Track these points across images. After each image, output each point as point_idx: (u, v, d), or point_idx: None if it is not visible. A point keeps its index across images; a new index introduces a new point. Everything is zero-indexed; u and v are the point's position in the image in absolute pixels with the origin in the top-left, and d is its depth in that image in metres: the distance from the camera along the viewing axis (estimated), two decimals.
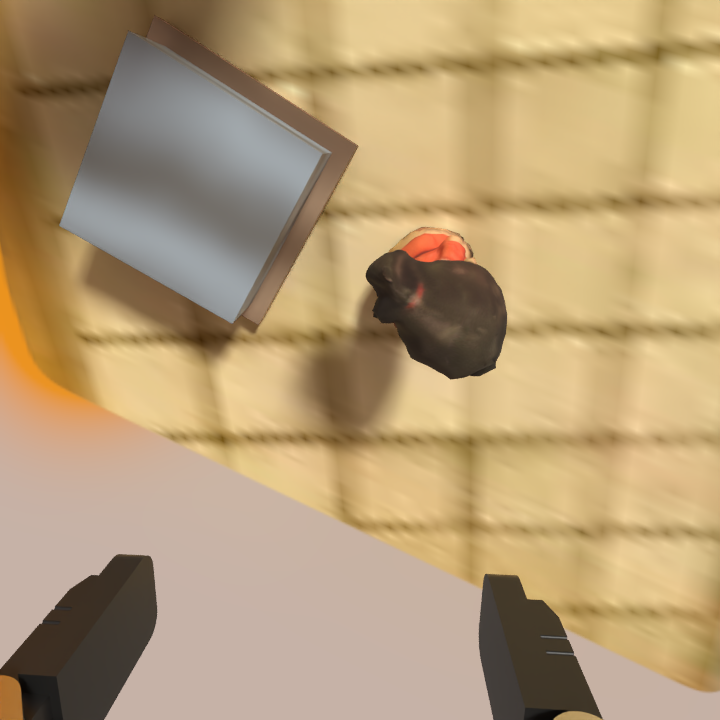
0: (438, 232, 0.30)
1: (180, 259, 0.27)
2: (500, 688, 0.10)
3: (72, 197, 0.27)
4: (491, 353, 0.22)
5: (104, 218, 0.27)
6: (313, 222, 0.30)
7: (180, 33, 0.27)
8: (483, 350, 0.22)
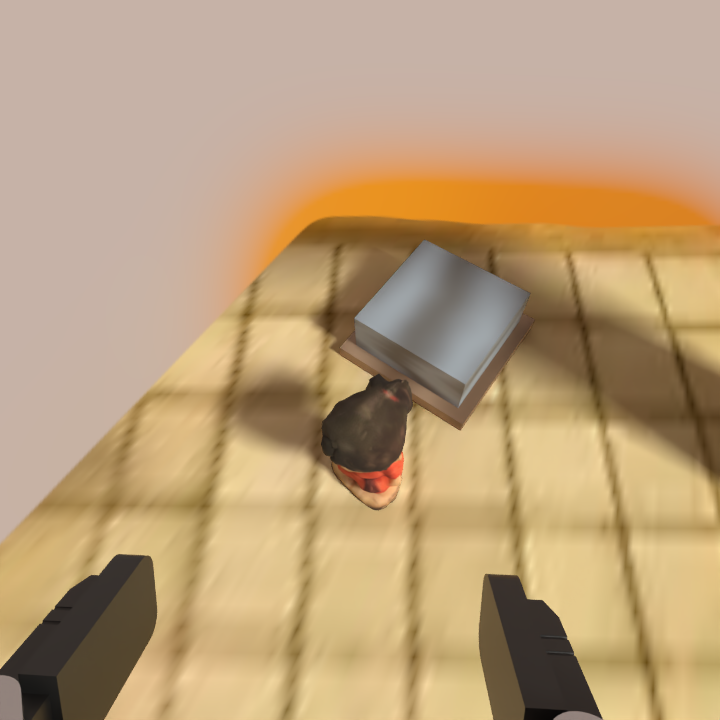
0: None
1: (400, 295, 0.42)
2: (500, 688, 0.10)
3: (440, 249, 0.44)
4: (344, 444, 0.29)
5: (427, 261, 0.44)
6: (411, 391, 0.42)
7: (526, 331, 0.45)
8: (347, 438, 0.29)
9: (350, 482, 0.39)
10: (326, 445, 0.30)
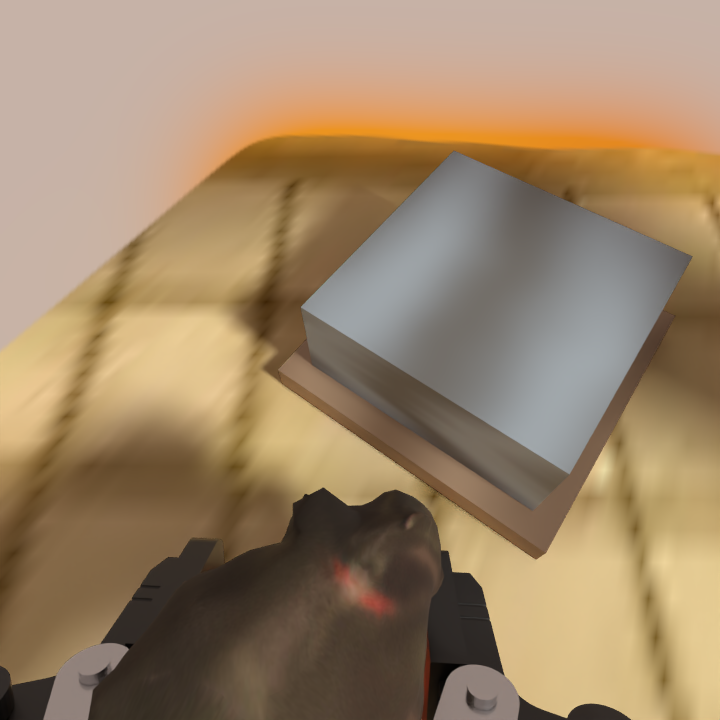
0: None
1: (404, 259, 0.19)
2: None
3: (488, 168, 0.21)
4: None
5: (462, 192, 0.21)
6: (427, 469, 0.19)
7: (660, 339, 0.22)
8: None
9: None
10: None
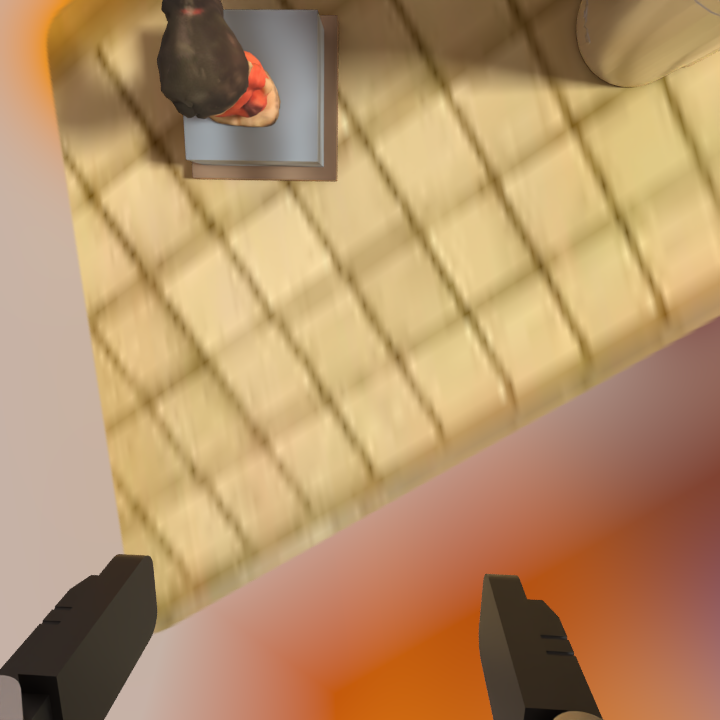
0: None
1: None
2: (500, 688, 0.10)
3: None
4: (195, 96, 0.28)
5: None
6: (278, 178, 0.44)
7: (336, 37, 0.41)
8: (192, 88, 0.28)
9: (235, 119, 0.38)
10: (183, 109, 0.29)
